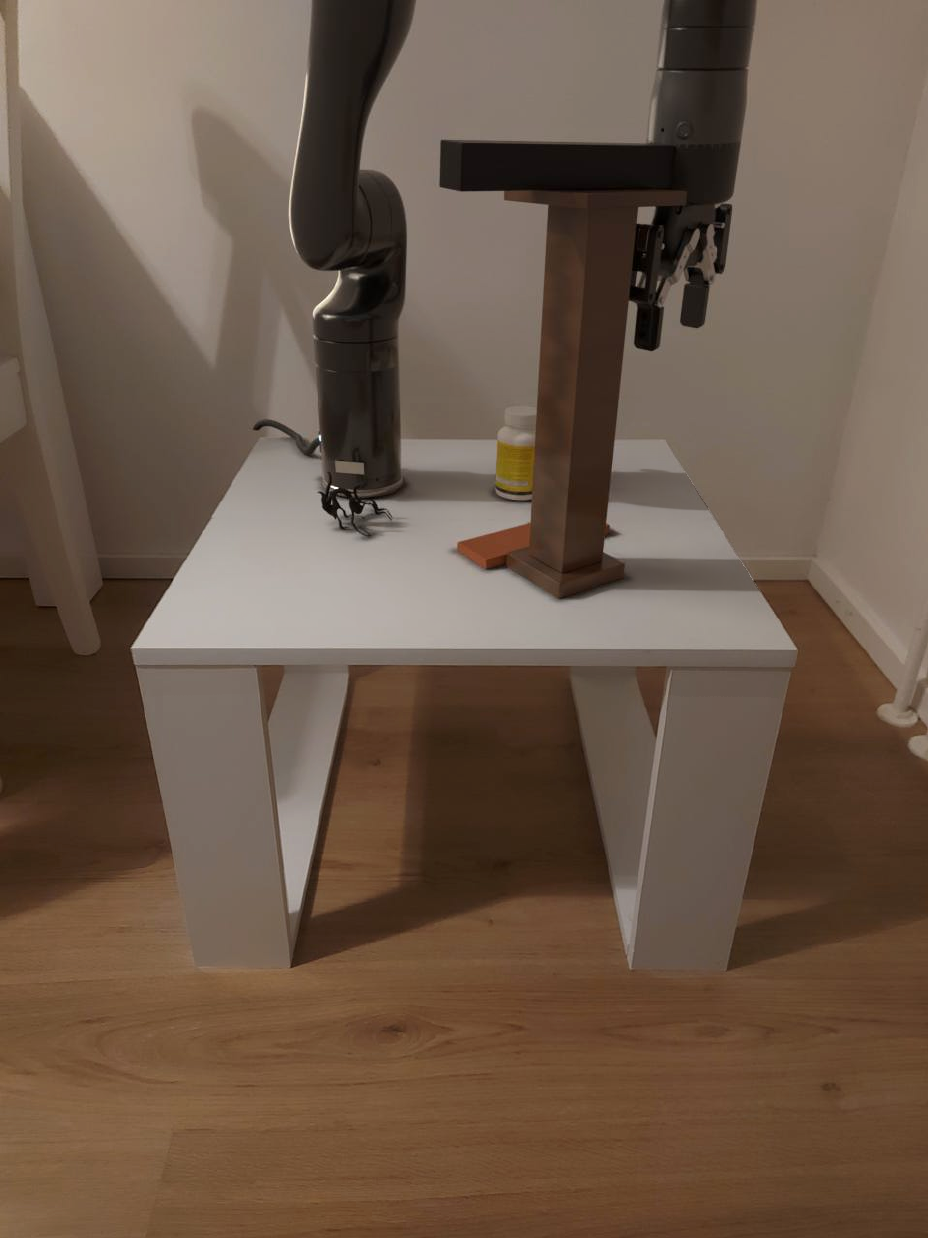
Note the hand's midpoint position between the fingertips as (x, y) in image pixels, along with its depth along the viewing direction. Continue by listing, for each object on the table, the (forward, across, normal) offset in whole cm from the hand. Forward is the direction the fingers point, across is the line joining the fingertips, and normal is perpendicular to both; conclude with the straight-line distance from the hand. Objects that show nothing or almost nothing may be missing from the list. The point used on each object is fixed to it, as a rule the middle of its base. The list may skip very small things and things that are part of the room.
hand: (669, 337), depth 79 cm
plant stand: (+20, +13, -2) cm, 23 cm away
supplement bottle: (+22, -1, -18) cm, 28 cm away
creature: (+20, +17, -25) cm, 37 cm away
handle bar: (-13, +11, -4) cm, 17 cm away
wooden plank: (+20, +9, -8) cm, 23 cm away
